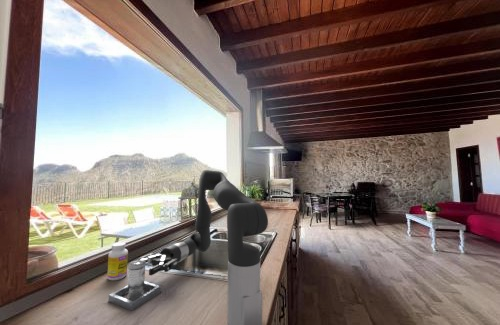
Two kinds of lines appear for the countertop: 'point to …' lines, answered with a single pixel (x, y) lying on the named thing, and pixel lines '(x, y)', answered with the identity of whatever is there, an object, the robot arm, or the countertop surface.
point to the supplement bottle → (117, 261)
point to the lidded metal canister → (136, 279)
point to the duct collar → (131, 305)
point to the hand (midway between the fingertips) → (140, 270)
